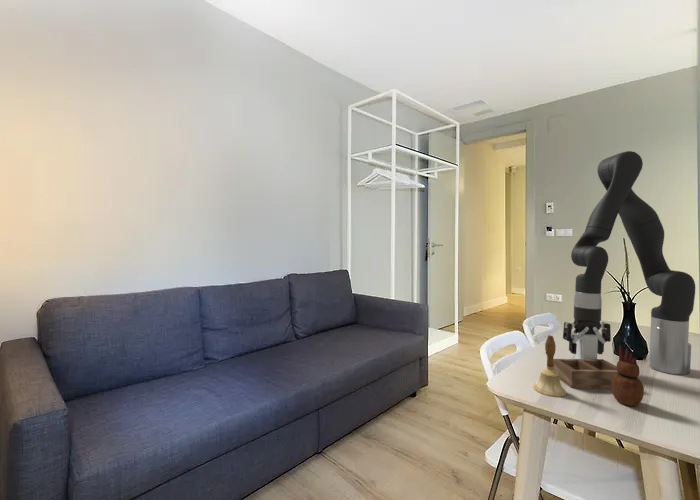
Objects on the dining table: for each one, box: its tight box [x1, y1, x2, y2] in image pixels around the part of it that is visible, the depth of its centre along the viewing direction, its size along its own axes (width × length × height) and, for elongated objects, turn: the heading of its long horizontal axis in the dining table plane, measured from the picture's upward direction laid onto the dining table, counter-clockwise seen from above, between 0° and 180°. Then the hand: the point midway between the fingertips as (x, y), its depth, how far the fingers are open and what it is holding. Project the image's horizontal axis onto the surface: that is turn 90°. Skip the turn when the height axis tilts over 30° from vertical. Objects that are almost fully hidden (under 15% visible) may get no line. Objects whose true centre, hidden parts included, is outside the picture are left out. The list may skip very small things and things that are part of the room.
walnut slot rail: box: [553, 358, 618, 389], centre depth 104 cm, size 16×10×5 cm, turn 89°
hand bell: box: [532, 335, 568, 398], centre depth 97 cm, size 8×8×16 cm
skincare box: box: [574, 333, 598, 359], centre depth 113 cm, size 6×4×12 cm
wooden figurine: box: [610, 345, 645, 407], centre depth 90 cm, size 7×6×15 cm
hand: (586, 353), depth 113 cm, fingers open, 8 cm apart
